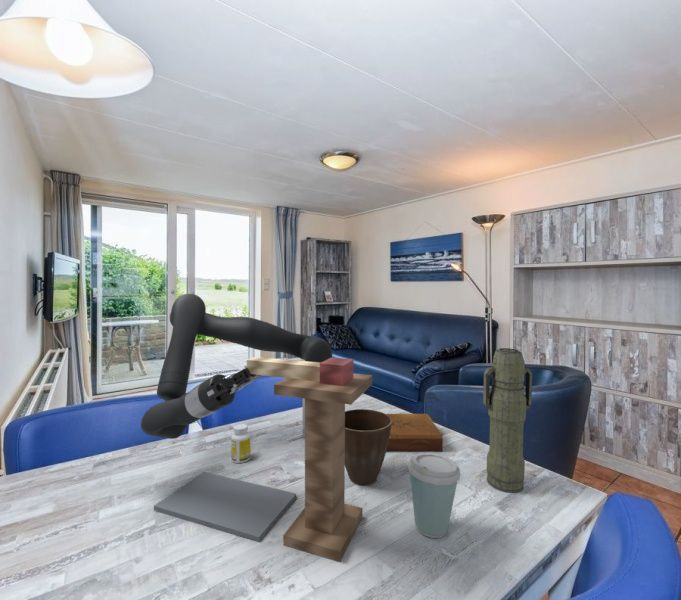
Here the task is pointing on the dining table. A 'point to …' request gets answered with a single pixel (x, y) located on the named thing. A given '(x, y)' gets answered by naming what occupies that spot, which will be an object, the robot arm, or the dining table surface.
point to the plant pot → (365, 444)
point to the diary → (414, 433)
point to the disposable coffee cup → (433, 492)
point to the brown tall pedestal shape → (324, 467)
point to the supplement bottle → (240, 444)
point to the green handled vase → (507, 418)
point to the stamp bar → (304, 369)
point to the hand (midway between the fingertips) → (260, 367)
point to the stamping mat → (228, 505)
